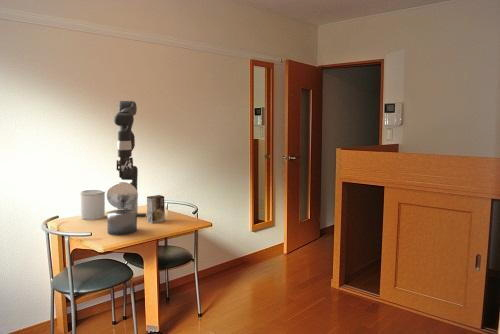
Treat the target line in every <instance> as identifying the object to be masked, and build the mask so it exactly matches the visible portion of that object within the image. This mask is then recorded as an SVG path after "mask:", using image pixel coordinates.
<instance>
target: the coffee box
mask: <svg viewBox="0 0 500 334" xmlns="http://www.w3.org/2000/svg"><path fill="white" fill-rule="evenodd" d="M146 211H147V213H146V218H147V221H146V222H147V223H150V224H156V223H161V222H165V217H166V215H165V196H163V195H161V194H157V195H150V196H146Z"/></svg>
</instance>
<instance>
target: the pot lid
mask: <svg viewBox="0 0 500 334" xmlns="http://www.w3.org/2000/svg"><path fill="white" fill-rule="evenodd" d="M138 193H139V192H138V189H137V190H136V188H135V187H134V186H133V185H131V184H130V182H129V183H128V182H126V181H120V182H116V183H114V184H112V185H110V187H109V188H108V190H107V193H106V200H107V201H108V203H109V204H110V205H111V206H112V207H113V208H116V209H117V210H122V209H128V208H129V207H131V206H133V205H134V204H135V203H136V201H137V199H138V198H139V194H138Z"/></svg>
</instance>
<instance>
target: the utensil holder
mask: <svg viewBox="0 0 500 334" xmlns="http://www.w3.org/2000/svg"><path fill="white" fill-rule="evenodd" d="M79 192H80V193H79V194H80V210H81V219H82V220H87V221H94V220H95V221H96V220H100V219H103V218H105V215H106V214H105V211H106V208H105V203H106V202H105V201H106V200H105V195H106V194H105V193H106V190H105V189H103V188H88V189H82V190H80V191H79Z"/></svg>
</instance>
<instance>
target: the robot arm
mask: <svg viewBox="0 0 500 334" xmlns="http://www.w3.org/2000/svg"><path fill="white" fill-rule="evenodd" d="M137 107H138V106H137V102H136V101H133V100H120V101H119V102H118V105H117V108H118V112H116V114H115V115H114V117H113V122H114V124H115V125H116V126H118V127H119V130H118V132H117V156H118V158H119V159H116V171H118V175H119V178H120V179H121V180H122V181H131V182H129V184H131V185H133V186H134V187H135V188H136V190H137V191H138V167H137V166H136V165H134V158H133V157H132V153H133V151H134V149H135V146H136V145H135V144H136V140H135V134H134V133H133V131H132V128H133V125H134V121H135V120H134V119H135V117H134V116H136V114H137V109H138V108H137ZM138 203H139V201H138V199H137V201H136V203H135V204H134V205H133V206H131V207H129V208H128V210H135V211H137V214H138V213H139V212H138V211H139V210H138V208H139V205H138Z"/></svg>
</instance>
